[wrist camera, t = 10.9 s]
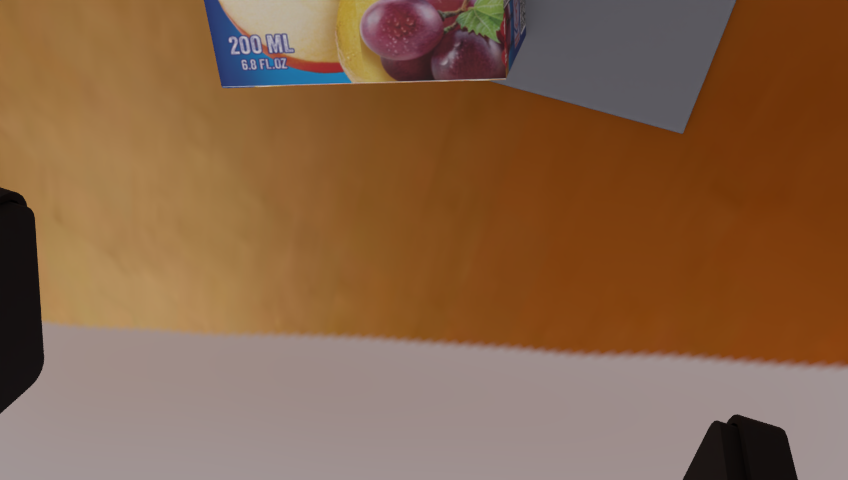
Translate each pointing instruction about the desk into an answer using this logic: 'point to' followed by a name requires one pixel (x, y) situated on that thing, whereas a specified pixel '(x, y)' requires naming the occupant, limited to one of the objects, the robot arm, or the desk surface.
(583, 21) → the mat
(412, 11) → the juice carton
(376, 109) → the desk surface
